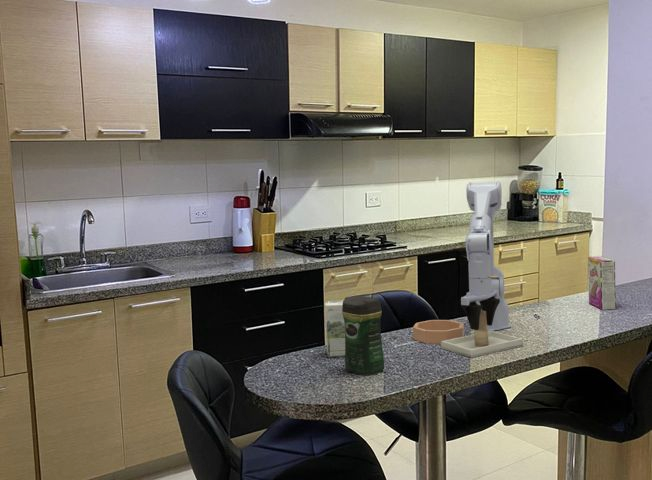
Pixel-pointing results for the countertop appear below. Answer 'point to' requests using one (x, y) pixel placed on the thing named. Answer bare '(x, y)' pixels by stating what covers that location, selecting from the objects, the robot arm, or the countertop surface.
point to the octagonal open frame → (437, 331)
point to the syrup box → (335, 328)
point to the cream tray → (469, 349)
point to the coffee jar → (363, 335)
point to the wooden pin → (481, 331)
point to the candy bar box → (602, 282)
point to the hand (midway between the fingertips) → (481, 327)
